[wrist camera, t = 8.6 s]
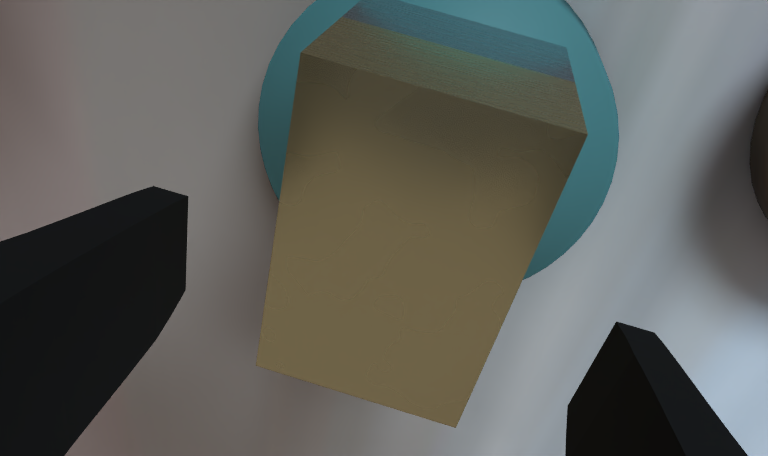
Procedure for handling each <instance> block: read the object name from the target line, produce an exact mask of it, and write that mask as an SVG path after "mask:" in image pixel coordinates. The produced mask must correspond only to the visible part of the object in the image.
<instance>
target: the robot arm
mask: <svg viewBox="0 0 768 456" xmlns="http://www.w3.org/2000/svg"><path fill="white" fill-rule="evenodd" d="M187 219H188V196H185V195H182V194H178V193H175V192H172V191H168V190H165V189H161V188H158V187H155V186H153V187H150V188H146V189H143V190H140V191H137V192H134V193H131V194H129V195H126V196H123V197H120V198H118V199H115V200H112V201H110V202H107V203H105V204H102V205H99V206H97V207H94V208H92V209H89V210H86V211H84V212H81V213H78V214H76V215H73V216H70V217H68V218H65V219H62V220H60V221H57V222H54V223H52V224H49V225H46V226H44V227H41V228H38V229H36V230H33V231H30V232H28V233H25V234H22V235H19V236H16V237H13V238H10V239H7V240H4V241H1V242H0V456H65V454H66V453H67V451H68V450H69V449H70V447H71V446H72V445H73V444H74V442H75V441H76V440H77V439H78V437H79V436H80V435H81V434H82V432H83V431H84V430H85V429H86V427H87V426H88V425H89V424H90V422H91V421H92V420H93V419H94V417H95V416H96V415H97V414H98V412H99V411H100V410H101V409H102V407H103V406H104V405H105V404H106V402H107V401H108V400H109V399H110V397H111V396H112V395H113V394H114V392H115V391H116V390H117V389H118V387H119V386H120V385H121V384H122V382H123V381H124V380H125V379H126V377H127V376H128V375H129V374H130V372H131V371H132V370H133V368H134V367H135V366H136V365H137V363H138V362H139V361H140V360H141V358H142V357H143V356H144V354H145V353H146V352H147V351H148V349H149V348H150V347H151V345H152V344H153V343H154V342H155V340H156V339H157V337H158V336H159V334H160V332H161V331H162V329H163V328H164V326H165V324H166V323H167V321H168V320H169V318H170V316H171V315H172V313H173V311H174V309H175V308H176V306H177V304H178V302H179V301H180V299H181V297H182V295H183V294H184V292H185V287H186V253H187ZM566 456H748V455H747V454H746V453H745V451H744V450H743V449H742V448H741V446H740V445H739V444H738V442H737V441H736V440H735V439H734V437H733V436H732V435H731V433H730V432H729V431H728V429H727V428H726V427H725V425H724V424H723V423H722V421H721V420H720V419H719V417H718V416H717V415H716V413H715V412H714V411H713V409H712V408H711V407H710V405H709V404H708V403H707V401H706V400H705V399H704V397H703V396H702V394H701V393H700V392H699V390H698V389H697V388H696V386H695V385H694V384H693V382H692V381H691V380H690V378H689V377H688V375H687V374H686V373H685V371H684V370H683V369H682V367H681V366H680V365H679V363H678V362H677V361H676V359H675V358H674V357H673V355H672V354H671V353H670V351H669V350H668V349H667V347H666V346H665V345H664V344H663V342H662V341H661V340H660V339H659V338H658V336H657V335H656V334H655V333H654V332H650V331H647V330H643V329H640V328H637V327H633V326H630V325H626V324H623V323H619V322H616V323H615V325H614V327H613V328H612V330H611V332H610V334H609V335H608V337H607V339H606V341H605V342H604V344H603V346H602V347H601V349H600V351H599V353H598V354H597V356H596V358H595V360H594V361H593V363H592V365H591V366H590V368H589V370H588V372H587V373H586V375H585V377H584V379H583V380H582V382H581V384H580V385H579V387H578V389H577V391H576V392H575V394H574V396H573V398H572V399H571V401H570V403H569V404H568V411H567V429H566Z"/></svg>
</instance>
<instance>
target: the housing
mask: <svg viewBox="0 0 768 456" xmlns="http://www.w3.org/2000/svg"><path fill="white" fill-rule="evenodd" d="M587 136H588V132H587V128H586V124H585V120H584V116H583V112H582V108H581V104H580V100H579V96H578V92H577V88H576V84H575V80H574V76H573V72H572V68H571V64H570V60H569V56H568V52H567V48H566V47H564V46H560V45H557V44H553V43H550V42H546V41H543V40H539V39H535V38H532V37H528V36H525V35H521V34H518V33H514V32H510V31H507V30H503V29H500V28H496V27H492V26H489V25H485V24H482V23H478V22H475V21H471V20H467V19H464V18H460V17H457V16H453V15H449V14H446V13H442V12H439V11H435V10H432V9H428V8H424V7H421V6H417V5H414V4H410V3H407V2H403V1H399V0H360V1H359V2H358V3H357V4H356V5H355V6H353V7H352V8H351V9H350V10H349V11H348V12H347V13H345V14H344V15H343V16H342V17H341V18H340V19H338V20H337V21H336V22H335V23H334V24H333V25H332V26H330V27H329V28H328V29H327V30H326V31H325V32H323V33H322V34H321V35H320V36H319V37H318V38H317V39H315V40H314V41H313V42H312V43H311V44H310V45H308V46H307V47H306V48H305V49H304V50H303V51H302V52H301V53H300V60H299V67H298V74H297V81H296V88H295V95H294V102H293V109H292V116H291V123H290V130H289V137H288V144H287V151H286V158H285V165H284V172H283V179H282V186H281V193H280V200H279V207H278V214H277V221H276V228H275V235H274V242H273V249H272V256H271V263H270V270H269V277H268V284H267V291H266V298H265V305H264V312H263V319H262V326H261V333H260V340H259V347H258V355H257V362H256V366H259V367H262V368H265V369H268V370H272V371H275V372H278V373H281V374H284V375H288V376H291V377H294V378H297V379H300V380H304V381H307V382H310V383H313V384H317V385H320V386H323V387H326V388H329V389H333V390H336V391H339V392H342V393H345V394H349V395H352V396H355V397H358V398H361V399H365V400H368V401H371V402H374V403H378V404H381V405H384V406H387V407H390V408H394V409H397V410H400V411H403V412H406V413H410V414H413V415H416V416H419V417H422V418H426V419H429V420H432V421H435V422H438V423H442V424H445V425H448V426H451V427H455V428H456V426H457V424H458V422H459V420H460V417H461V415H462V413H463V411H464V408H465V406H466V404H467V402H468V400H469V397H470V395H471V393H472V391H473V388H474V386H475V384H476V382H477V380H478V377H479V375H480V373H481V371H482V369H483V366H484V364H485V362H486V360H487V357H488V355H489V353H490V351H491V349H492V346H493V344H494V342H495V340H496V337H497V335H498V333H499V331H500V329H501V326H502V324H503V322H504V320H505V318H506V315H507V313H508V311H509V309H510V306H511V304H512V302H513V300H514V298H515V295H516V293H517V291H518V289H519V286H520V284H521V282H522V280H523V278H524V275H525V273H526V271H527V269H528V266H529V264H530V262H531V260H532V258H533V255H534V253H535V251H536V249H537V247H538V244H539V242H540V240H541V238H542V235H543V233H544V231H545V229H546V227H547V224H548V222H549V220H550V218H551V215H552V213H553V211H554V209H555V207H556V204H557V202H558V200H559V198H560V196H561V193H562V191H563V189H564V187H565V184H566V182H567V180H568V178H569V176H570V173H571V171H572V169H573V167H574V164H575V162H576V160H577V158H578V156H579V153H580V151H581V149H582V147H583V145H584V142H585V140H586V138H587Z"/></svg>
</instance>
